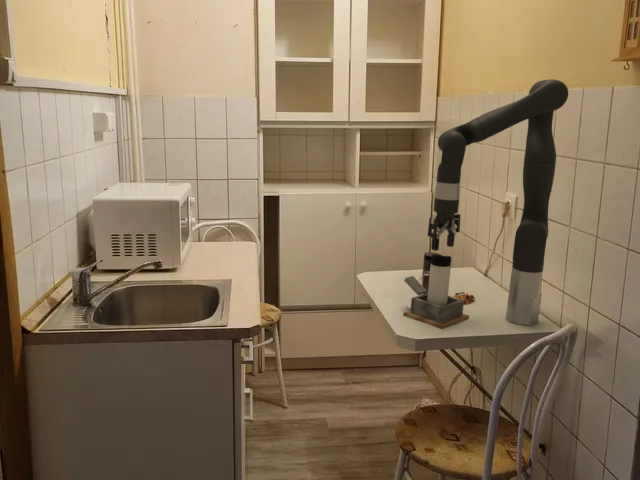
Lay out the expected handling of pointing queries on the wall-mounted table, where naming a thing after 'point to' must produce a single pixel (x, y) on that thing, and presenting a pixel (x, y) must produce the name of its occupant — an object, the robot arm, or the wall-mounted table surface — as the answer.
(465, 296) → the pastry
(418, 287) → the grey rectangular block
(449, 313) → the grey walled square tray
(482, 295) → the wall-mounted table surface
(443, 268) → the travel mug
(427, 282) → the box
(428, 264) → the supplement container
